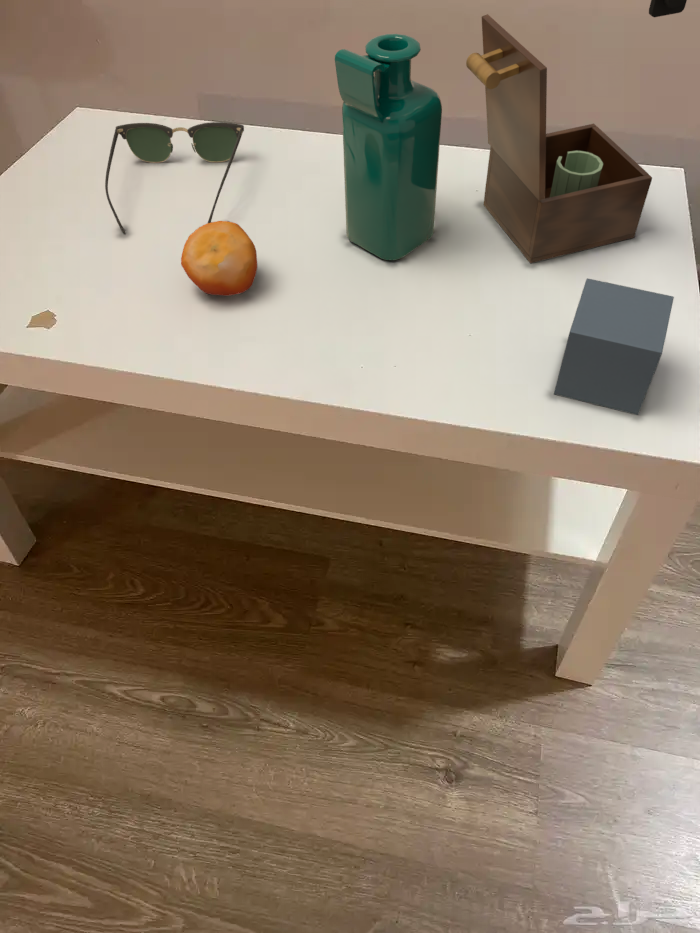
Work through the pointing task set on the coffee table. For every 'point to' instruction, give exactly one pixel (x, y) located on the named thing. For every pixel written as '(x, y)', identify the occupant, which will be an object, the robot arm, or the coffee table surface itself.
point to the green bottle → (388, 147)
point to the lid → (514, 103)
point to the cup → (576, 173)
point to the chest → (569, 199)
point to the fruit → (220, 258)
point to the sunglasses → (156, 145)
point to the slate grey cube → (614, 345)
